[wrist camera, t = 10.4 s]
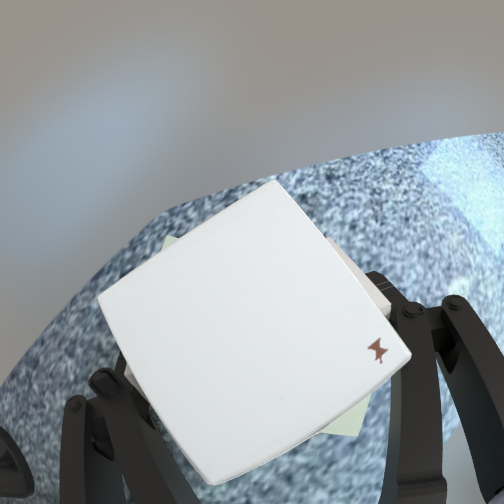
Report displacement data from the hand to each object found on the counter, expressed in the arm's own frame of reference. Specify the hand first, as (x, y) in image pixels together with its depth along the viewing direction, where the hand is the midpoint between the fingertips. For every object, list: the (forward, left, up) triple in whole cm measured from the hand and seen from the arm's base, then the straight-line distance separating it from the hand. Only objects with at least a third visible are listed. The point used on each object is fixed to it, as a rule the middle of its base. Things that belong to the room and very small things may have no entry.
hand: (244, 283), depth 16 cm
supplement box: (+2, -3, -5) cm, 6 cm away
